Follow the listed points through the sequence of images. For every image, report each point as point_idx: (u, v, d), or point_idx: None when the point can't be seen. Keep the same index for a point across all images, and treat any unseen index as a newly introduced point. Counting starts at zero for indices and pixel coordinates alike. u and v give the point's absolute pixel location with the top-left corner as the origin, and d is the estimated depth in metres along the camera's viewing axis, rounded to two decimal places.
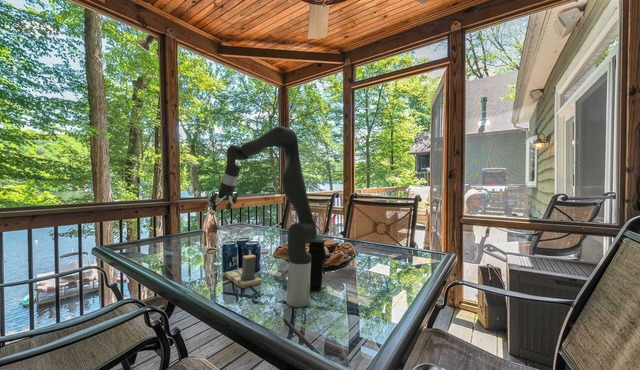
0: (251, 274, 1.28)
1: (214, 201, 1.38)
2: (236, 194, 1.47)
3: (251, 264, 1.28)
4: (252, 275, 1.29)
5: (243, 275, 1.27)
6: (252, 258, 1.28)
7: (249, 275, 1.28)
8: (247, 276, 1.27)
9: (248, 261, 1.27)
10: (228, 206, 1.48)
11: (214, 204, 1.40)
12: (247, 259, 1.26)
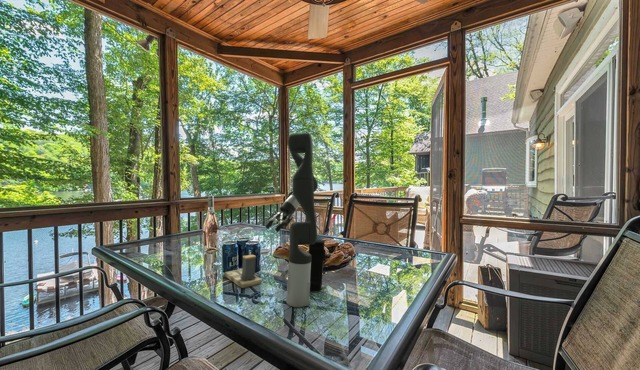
0: (251, 274, 1.28)
1: (270, 217, 1.43)
2: (288, 215, 1.36)
3: (251, 264, 1.28)
4: (252, 275, 1.29)
5: (243, 275, 1.27)
6: (252, 258, 1.28)
7: (249, 275, 1.28)
8: (247, 276, 1.27)
9: (248, 261, 1.27)
10: None
11: (269, 220, 1.41)
12: (247, 259, 1.26)
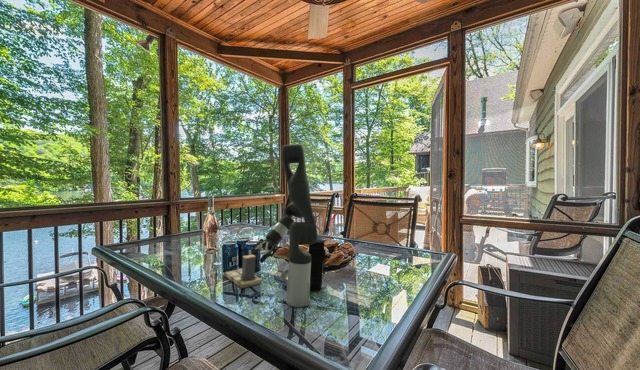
0: (251, 274, 1.28)
1: (256, 245, 1.38)
2: (274, 244, 1.31)
3: (251, 264, 1.28)
4: (252, 275, 1.29)
5: (243, 275, 1.27)
6: (252, 258, 1.28)
7: (249, 275, 1.28)
8: (247, 276, 1.27)
9: (248, 261, 1.27)
10: None
11: None
12: (247, 259, 1.26)
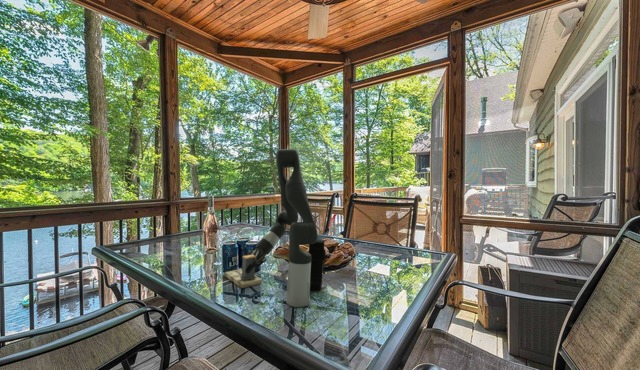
0: (251, 274, 1.28)
1: None
2: (262, 256, 1.27)
3: None
4: (252, 275, 1.29)
5: (243, 275, 1.27)
6: (252, 258, 1.28)
7: (249, 275, 1.28)
8: (247, 276, 1.27)
9: (248, 261, 1.27)
10: None
11: None
12: (247, 259, 1.26)
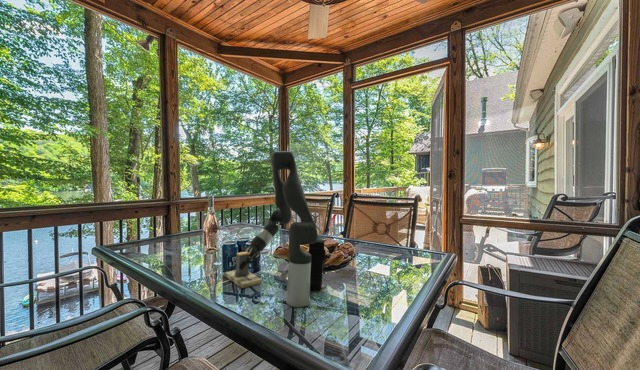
0: (245, 271, 1.33)
1: None
2: (256, 253, 1.32)
3: None
4: (246, 271, 1.33)
5: (237, 271, 1.32)
6: (246, 255, 1.32)
7: (243, 271, 1.32)
8: (241, 272, 1.31)
9: (242, 258, 1.31)
10: None
11: None
12: (241, 256, 1.31)
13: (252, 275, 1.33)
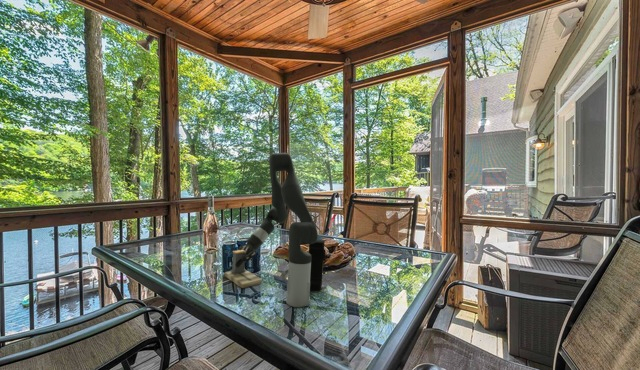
0: (241, 268, 1.36)
1: None
2: (251, 251, 1.34)
3: None
4: (242, 269, 1.36)
5: (233, 269, 1.34)
6: (242, 253, 1.35)
7: (239, 269, 1.35)
8: (237, 270, 1.34)
9: (238, 256, 1.34)
10: None
11: None
12: (237, 254, 1.34)
13: (252, 275, 1.33)
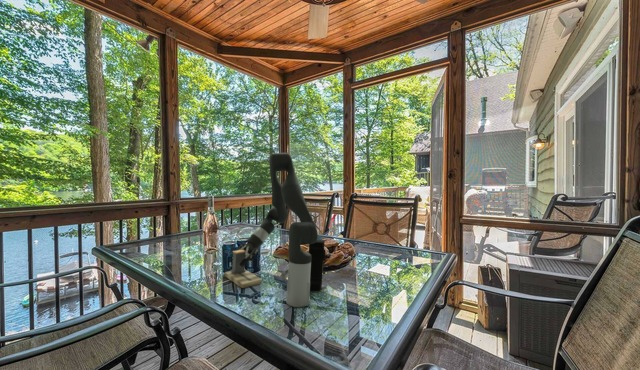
0: (241, 268, 1.36)
1: (237, 249, 1.42)
2: (254, 249, 1.35)
3: (241, 259, 1.35)
4: (242, 269, 1.36)
5: (233, 269, 1.34)
6: (242, 253, 1.35)
7: (239, 269, 1.35)
8: (237, 270, 1.34)
9: (238, 256, 1.34)
10: None
11: None
12: (237, 254, 1.34)
13: (252, 275, 1.33)
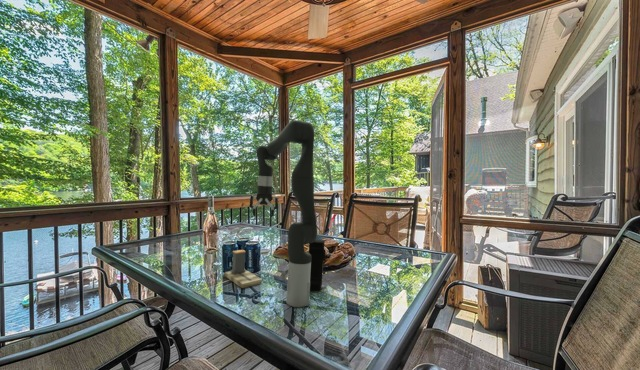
0: (241, 268, 1.36)
1: (251, 204, 1.38)
2: (275, 198, 1.39)
3: (241, 259, 1.35)
4: (242, 269, 1.36)
5: (233, 269, 1.34)
6: (242, 253, 1.35)
7: (239, 269, 1.35)
8: (237, 270, 1.34)
9: (238, 256, 1.34)
10: (271, 213, 1.40)
11: (253, 208, 1.39)
12: (237, 254, 1.34)
13: (252, 275, 1.33)
